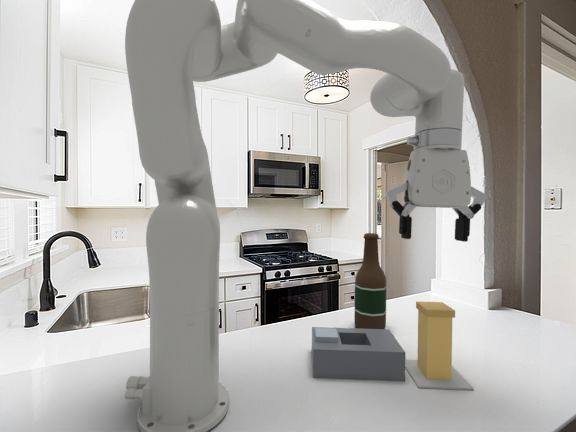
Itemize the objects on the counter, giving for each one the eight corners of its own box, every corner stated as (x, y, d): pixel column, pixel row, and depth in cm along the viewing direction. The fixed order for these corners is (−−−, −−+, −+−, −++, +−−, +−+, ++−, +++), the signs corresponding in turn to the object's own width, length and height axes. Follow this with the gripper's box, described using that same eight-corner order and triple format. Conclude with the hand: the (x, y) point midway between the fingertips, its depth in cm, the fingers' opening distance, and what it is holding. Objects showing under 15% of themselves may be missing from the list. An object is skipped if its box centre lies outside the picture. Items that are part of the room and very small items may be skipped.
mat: (418, 388, 49) (418, 386, 49) (400, 360, 58) (400, 359, 58) (473, 390, 49) (473, 388, 49) (447, 362, 58) (447, 360, 58)
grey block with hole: (313, 377, 52) (313, 343, 52) (311, 350, 62) (311, 322, 62) (405, 380, 51) (405, 346, 51) (388, 353, 61) (389, 324, 61)
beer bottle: (382, 323, 78) (383, 232, 77) (389, 335, 70) (391, 234, 70) (352, 321, 79) (353, 232, 78) (356, 334, 71) (357, 234, 71)
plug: (425, 379, 51) (426, 309, 51) (415, 365, 56) (416, 301, 56) (454, 380, 51) (455, 310, 51) (441, 366, 56) (442, 302, 56)
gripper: (394, 137, 50) (390, 239, 50) (501, 140, 49) (496, 244, 49) (382, 147, 57) (379, 236, 57) (475, 150, 56) (471, 240, 56)
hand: (433, 239), depth 53 cm, fingers open, 9 cm apart
